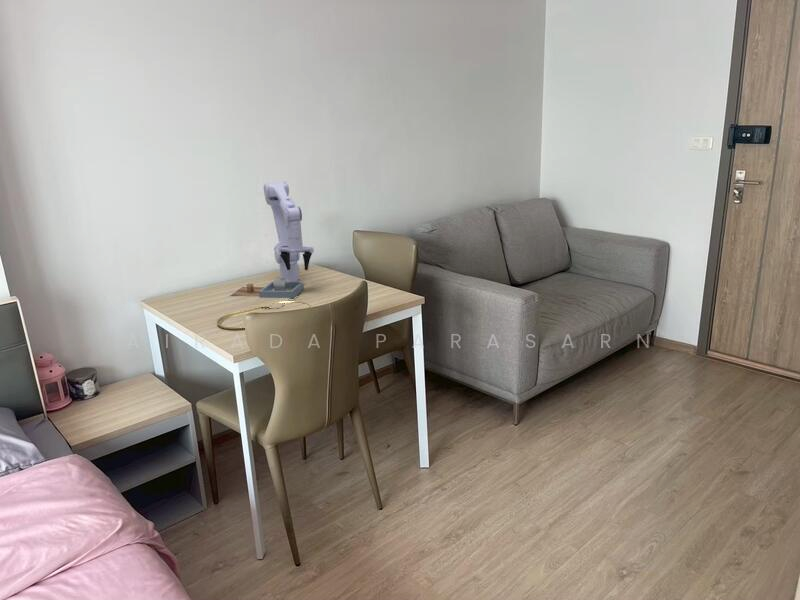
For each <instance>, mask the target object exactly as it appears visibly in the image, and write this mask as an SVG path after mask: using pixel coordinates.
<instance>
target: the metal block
mask: <svg viewBox="0 0 800 600" xmlns="http://www.w3.org/2000/svg"><path fill="white" fill-rule="evenodd" d="M272 282H273V285H274V288H273V291H291V290H290V289H289V278H281V277H276V278H275V279H273V280H272Z"/></svg>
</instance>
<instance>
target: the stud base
mask: <svg viewBox="0 0 800 600" xmlns="http://www.w3.org/2000/svg"><path fill="white" fill-rule="evenodd" d="M264 287H265V286H262V287H261V286H254V284H253V283H247V284H246V286H241V287H240V288H239V289H237V290H236V291H234V292H233V293H231V294H230V295H229V297H259V291H260V290H261V289H263V288H264Z"/></svg>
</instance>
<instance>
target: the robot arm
mask: <svg viewBox="0 0 800 600" xmlns="http://www.w3.org/2000/svg"><path fill="white" fill-rule="evenodd" d="M263 193H264V198H265V199H264V200H265V202H266V204H267V205H269V206H270V207H271V209H272V210H271V211H272V214H273V220H274V223H275V229H276V233H277V239H278V242H277V244H275V246H274V249H273V250H274V258H275V262H276V263H277V264H279V270H280V271H279V273H280V278H289V282H299V280H303V278H301V275H300V266H299V264H298V262H299V260H300V257H301V256H300V253H301V254H302V253H303V254H302V258H303V262H304V265H303V266H304V271H308V270H309V264H310V260H311V257H312V255H313V253H314V252H315V251H314V247H313V246H312V247H311V246H303V236H302V235H303V234H302V224H301V223H302V222H301V221H302V220H303V213H302V209H301V207H300V206H299V205H296V204H295V202H294V201H293V199H292V198H291V197H289V195H290V188H289V184H288V182H287V181H281V182H280V181H279V182H268V183H267V182H265V183H264V185H263Z"/></svg>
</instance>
